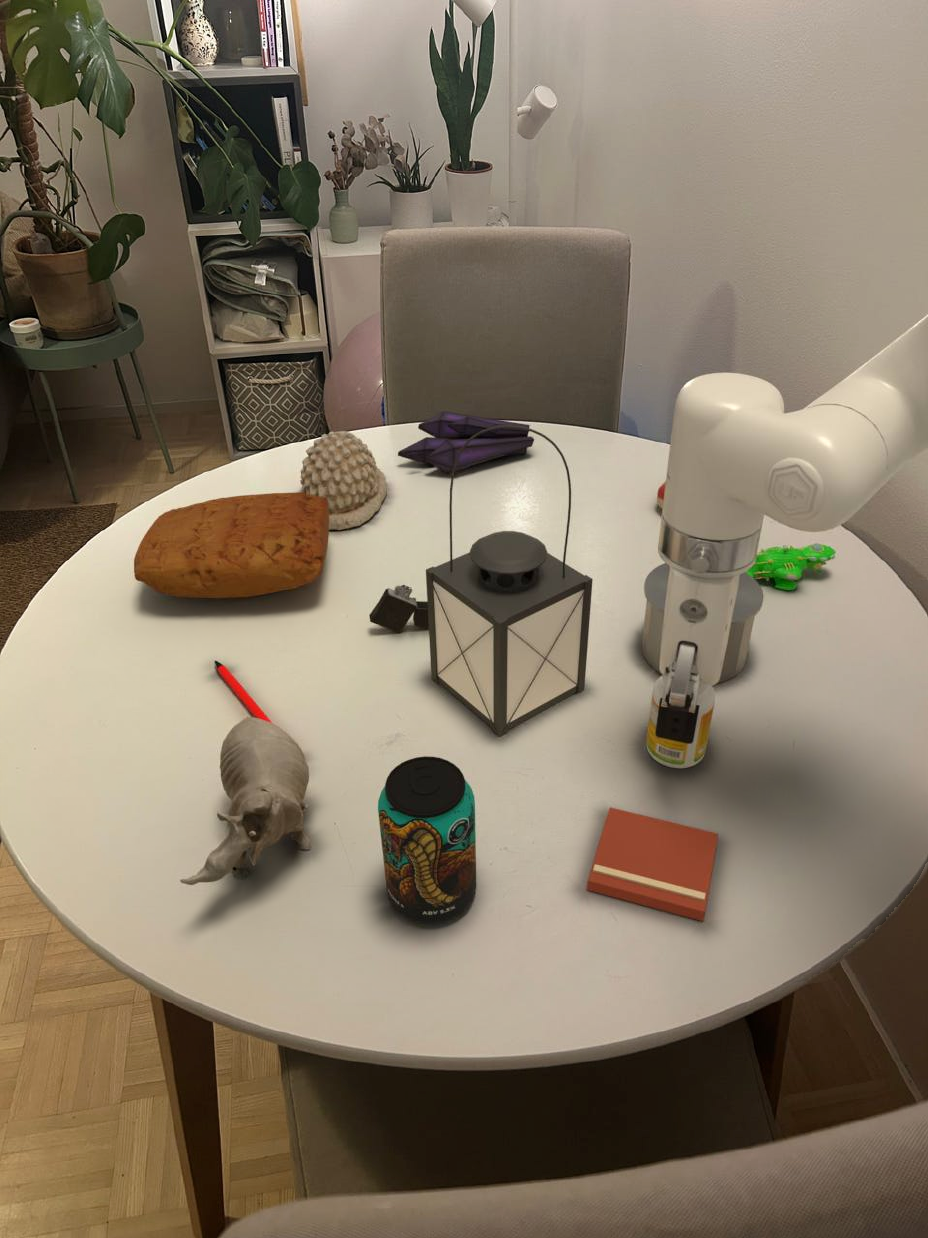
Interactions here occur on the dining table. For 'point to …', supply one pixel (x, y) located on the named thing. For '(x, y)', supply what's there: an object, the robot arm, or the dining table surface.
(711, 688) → the supplement bottle
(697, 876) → the book
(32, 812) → the dining table surface
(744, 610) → the pot lid
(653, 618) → the pot
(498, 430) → the crystal
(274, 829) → the grey rounded figure
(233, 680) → the pen
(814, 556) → the green elongated plastic piece
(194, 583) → the cuneiform tablet
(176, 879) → the dining table surface
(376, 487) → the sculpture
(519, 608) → the lantern
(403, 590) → the lighter
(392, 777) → the beverage can
